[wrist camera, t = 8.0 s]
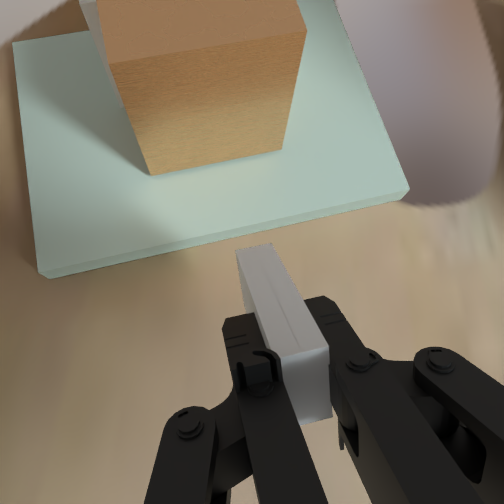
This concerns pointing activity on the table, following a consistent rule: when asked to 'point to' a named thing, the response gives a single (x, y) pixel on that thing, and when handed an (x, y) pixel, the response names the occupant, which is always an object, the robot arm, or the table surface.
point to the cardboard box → (204, 75)
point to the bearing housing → (193, 179)
